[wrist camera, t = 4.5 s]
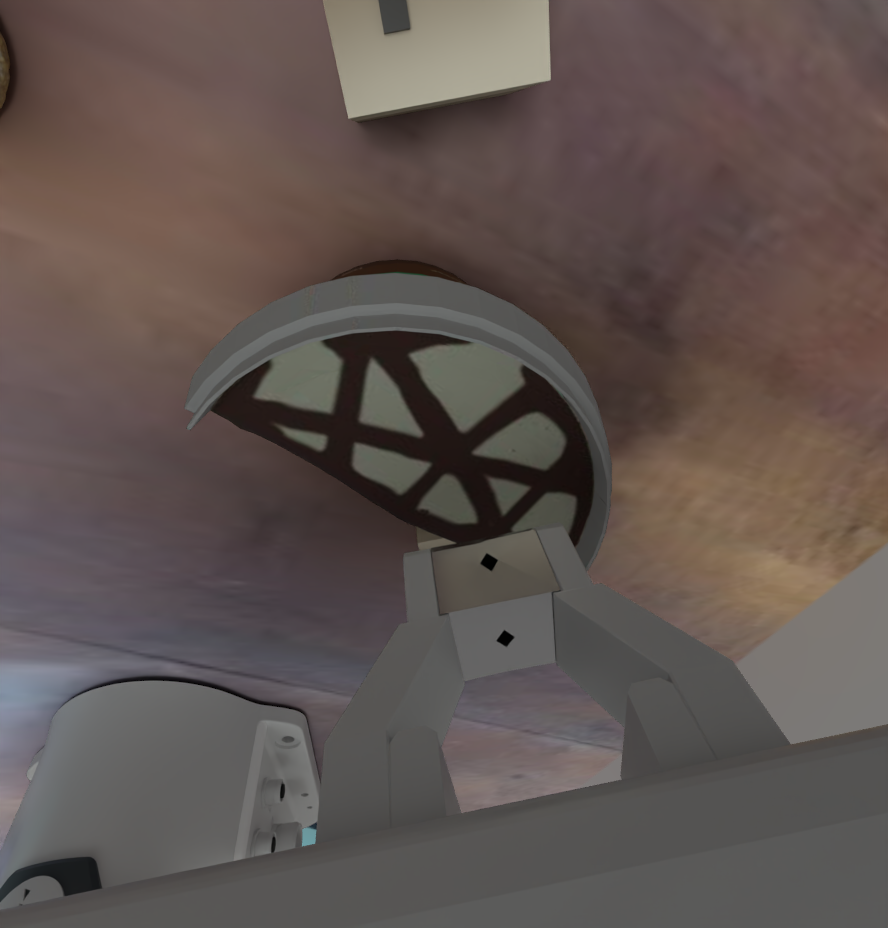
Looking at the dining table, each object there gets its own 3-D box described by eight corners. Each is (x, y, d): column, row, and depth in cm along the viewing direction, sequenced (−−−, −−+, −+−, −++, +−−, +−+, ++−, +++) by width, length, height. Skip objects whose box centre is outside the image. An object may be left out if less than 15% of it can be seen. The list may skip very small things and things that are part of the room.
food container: (595, 351, 21) (727, 488, 13) (500, 450, 24) (561, 620, 15) (349, 138, 16) (311, 142, 8) (261, 291, 19) (160, 415, 10)
